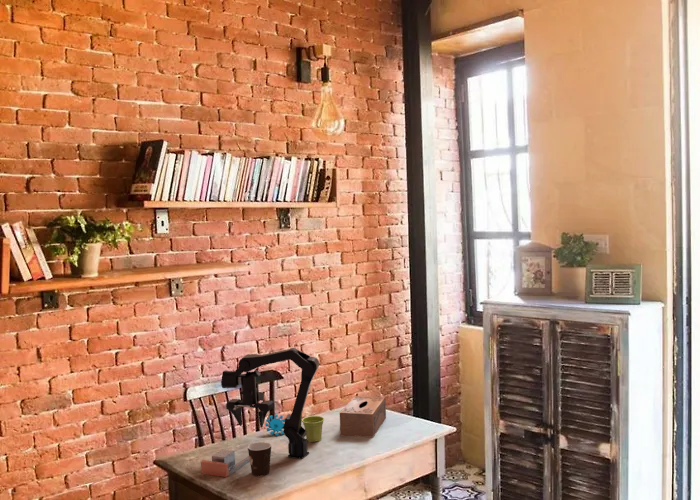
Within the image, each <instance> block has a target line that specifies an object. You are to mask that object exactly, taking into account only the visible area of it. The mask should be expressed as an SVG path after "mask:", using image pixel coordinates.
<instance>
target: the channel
mask: <svg viewBox="0 0 700 500" xmlns="http://www.w3.org/2000/svg"><path fill="white" fill-rule="evenodd" d="M247 463H250V459H249V455H248V456H246V457H244V458H243V459H241V460H239V462H238V463H235V465H234V466H233V467H231V468H230V469H228V463H222V462H214V461H212V460H206V459H202V460H201V461H200V473H201V474H202V473H203V474H204V475H211V476H217V477H224V478H227V477H228V476H229V477H230V475H232V474H233V473H235V471H237V470H238V469H239V470H240V468H242V467H243V466H244V465H246V464H247Z"/></svg>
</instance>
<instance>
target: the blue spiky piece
mask: <svg viewBox="0 0 700 500" xmlns="http://www.w3.org/2000/svg"><path fill="white" fill-rule="evenodd" d="M273 417H274V418H273ZM283 418H284V416H283V415H282V414H280V415H279V417H278V414H277V413H275V414H274V416H273V415H269V418H265V425H264V426H265V427H266V432H269V431H270V432H269V434H270V435H271V436H273V435H274V433H275V436H276V437H278V436H280V435H281V436H282V435H285V434H284V432H283V431H284V428H283V426H284V424H285V418H284V419H283ZM279 432H280V435H279Z"/></svg>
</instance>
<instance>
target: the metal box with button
mask: <svg viewBox="0 0 700 500" xmlns="http://www.w3.org/2000/svg"><path fill="white" fill-rule="evenodd" d="M235 455H236V452H235V450H230V449H223V448H221V450H218V451H217V452H216V453H213V454H212V455H211V461H214V462H222V463H228V469H230V468H231V467H233V466H234V465H236V456H235Z"/></svg>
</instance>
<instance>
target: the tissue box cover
mask: <svg viewBox="0 0 700 500" xmlns="http://www.w3.org/2000/svg"><path fill="white" fill-rule="evenodd" d="M386 405H387V404H386V397H385V396H367V395H366V396H365V395H363V396H361V395H354V396H353V397H352V398H351V400H349V401H348V403H346V405H345V406H344V407H343V409H342V410H341V411H340V412H339V433H340V435H339V436H346V437H348V436H349V437H365V438H366V437H367V438H374V437H375V436H376V433H377V432H378V431H379V429H380V428H381V427H382V425H383V423H384V422H385V421H386V419H387V407H386Z"/></svg>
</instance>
